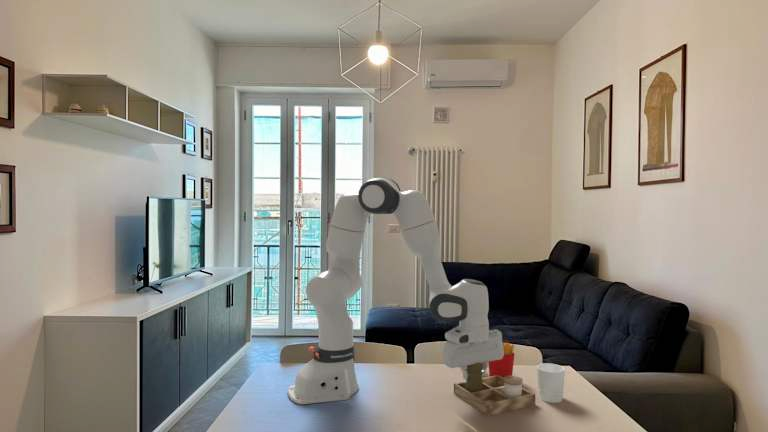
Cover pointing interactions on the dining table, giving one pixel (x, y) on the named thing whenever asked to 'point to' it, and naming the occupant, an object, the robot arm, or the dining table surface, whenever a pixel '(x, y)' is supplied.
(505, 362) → the french fries
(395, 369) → the dining table surface
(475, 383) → the olive pepper mill
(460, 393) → the oak caddy
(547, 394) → the white cup
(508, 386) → the cream ceramic jar
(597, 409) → the dining table surface
